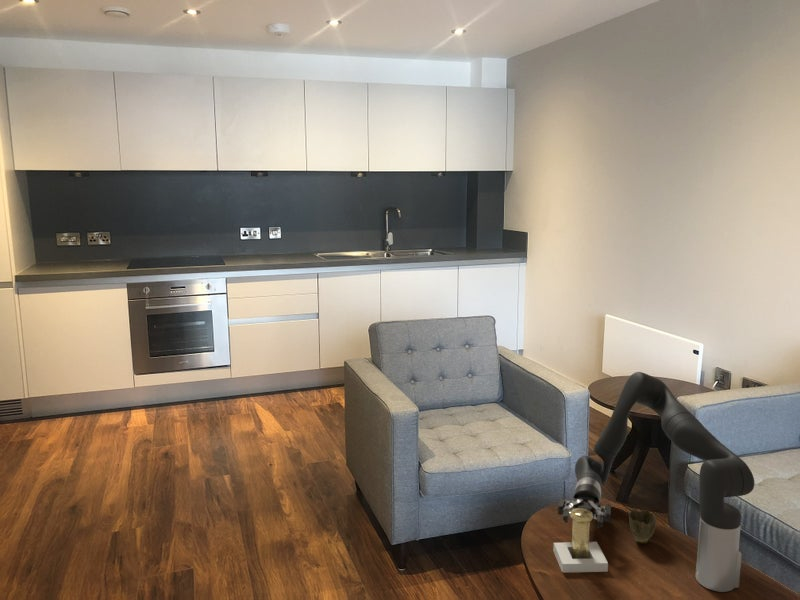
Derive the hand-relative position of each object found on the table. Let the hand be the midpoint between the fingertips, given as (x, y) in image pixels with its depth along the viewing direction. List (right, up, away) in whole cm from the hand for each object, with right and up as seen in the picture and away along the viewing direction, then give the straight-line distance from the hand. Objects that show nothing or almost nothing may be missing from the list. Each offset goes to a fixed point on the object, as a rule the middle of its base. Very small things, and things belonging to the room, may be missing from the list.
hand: (582, 522), depth 181 cm
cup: (+19, -8, +8) cm, 22 cm away
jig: (-1, -10, -1) cm, 10 cm away
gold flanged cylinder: (-1, -10, -1) cm, 10 cm away
